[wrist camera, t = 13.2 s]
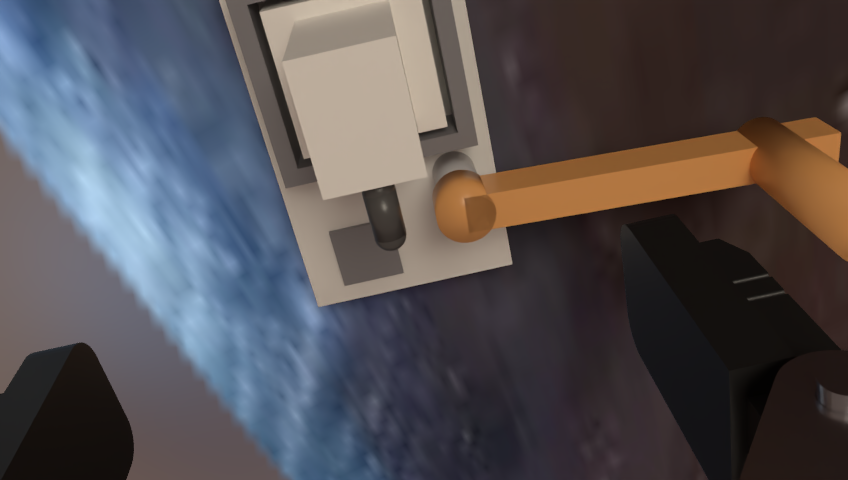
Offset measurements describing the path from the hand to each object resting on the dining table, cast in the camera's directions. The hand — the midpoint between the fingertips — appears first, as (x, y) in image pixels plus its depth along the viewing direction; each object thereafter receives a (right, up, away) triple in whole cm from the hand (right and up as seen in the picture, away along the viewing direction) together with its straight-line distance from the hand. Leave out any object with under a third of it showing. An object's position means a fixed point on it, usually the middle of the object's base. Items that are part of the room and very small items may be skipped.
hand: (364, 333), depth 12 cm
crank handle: (+8, +4, +16) cm, 18 cm away
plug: (-1, +8, +15) cm, 17 cm away
